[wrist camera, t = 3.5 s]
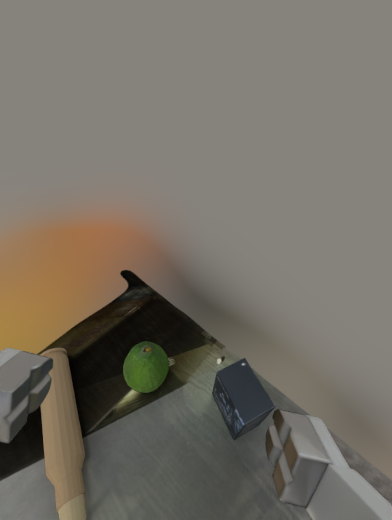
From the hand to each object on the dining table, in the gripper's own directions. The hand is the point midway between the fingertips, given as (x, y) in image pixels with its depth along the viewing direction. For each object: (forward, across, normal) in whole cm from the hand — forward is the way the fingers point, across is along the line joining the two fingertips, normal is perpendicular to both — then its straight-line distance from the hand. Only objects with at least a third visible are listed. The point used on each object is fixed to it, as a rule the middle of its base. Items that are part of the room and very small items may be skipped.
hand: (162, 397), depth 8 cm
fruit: (+31, +3, +28) cm, 42 cm away
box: (+27, -14, +27) cm, 40 cm away
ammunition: (+19, +14, +30) cm, 38 cm away
